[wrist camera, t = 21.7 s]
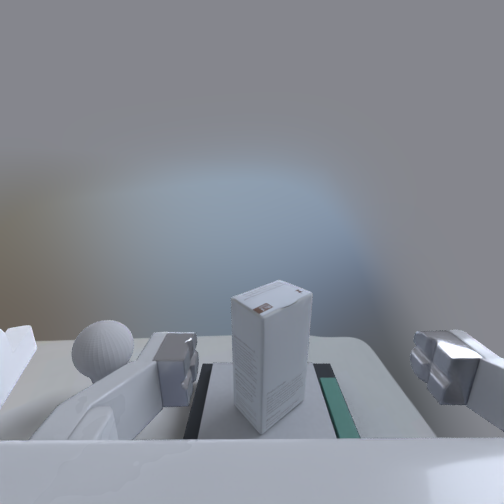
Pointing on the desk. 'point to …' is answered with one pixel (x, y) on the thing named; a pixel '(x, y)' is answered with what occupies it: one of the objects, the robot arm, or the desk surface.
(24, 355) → the white u-slot block
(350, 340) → the desk surface
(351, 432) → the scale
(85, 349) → the light bulb
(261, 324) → the cosmetic box
